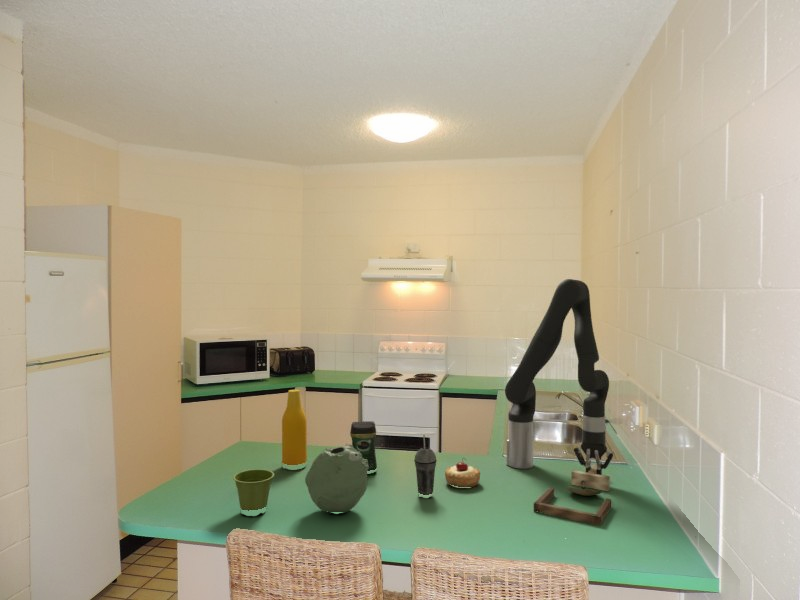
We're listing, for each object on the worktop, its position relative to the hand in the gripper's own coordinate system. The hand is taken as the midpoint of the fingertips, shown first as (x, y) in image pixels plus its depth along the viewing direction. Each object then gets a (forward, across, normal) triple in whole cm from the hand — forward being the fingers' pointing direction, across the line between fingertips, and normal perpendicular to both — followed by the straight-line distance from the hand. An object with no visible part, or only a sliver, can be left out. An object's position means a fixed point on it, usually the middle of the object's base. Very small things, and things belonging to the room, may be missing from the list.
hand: (593, 478), depth 186 cm
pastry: (+2, -38, -25) cm, 45 cm away
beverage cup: (+2, -43, -41) cm, 59 cm away
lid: (+2, 0, -14) cm, 15 cm away
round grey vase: (+2, -59, -66) cm, 89 cm away
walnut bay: (+2, 0, -26) cm, 26 cm away
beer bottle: (+2, -100, -41) cm, 108 cm away
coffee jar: (+2, -74, -32) cm, 81 cm away
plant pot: (+2, -80, -79) cm, 113 cm away
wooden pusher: (+1, 0, 0) cm, 1 cm away
